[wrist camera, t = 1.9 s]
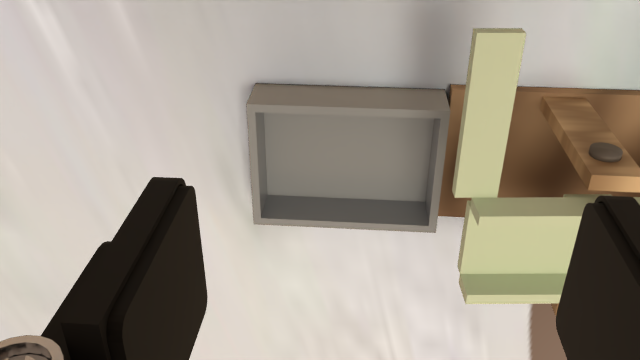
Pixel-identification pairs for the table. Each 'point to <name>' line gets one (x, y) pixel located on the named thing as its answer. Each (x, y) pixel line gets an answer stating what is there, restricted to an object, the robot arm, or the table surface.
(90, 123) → the table surface
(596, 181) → the stand
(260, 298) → the table surface
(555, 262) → the lever
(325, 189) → the dish
